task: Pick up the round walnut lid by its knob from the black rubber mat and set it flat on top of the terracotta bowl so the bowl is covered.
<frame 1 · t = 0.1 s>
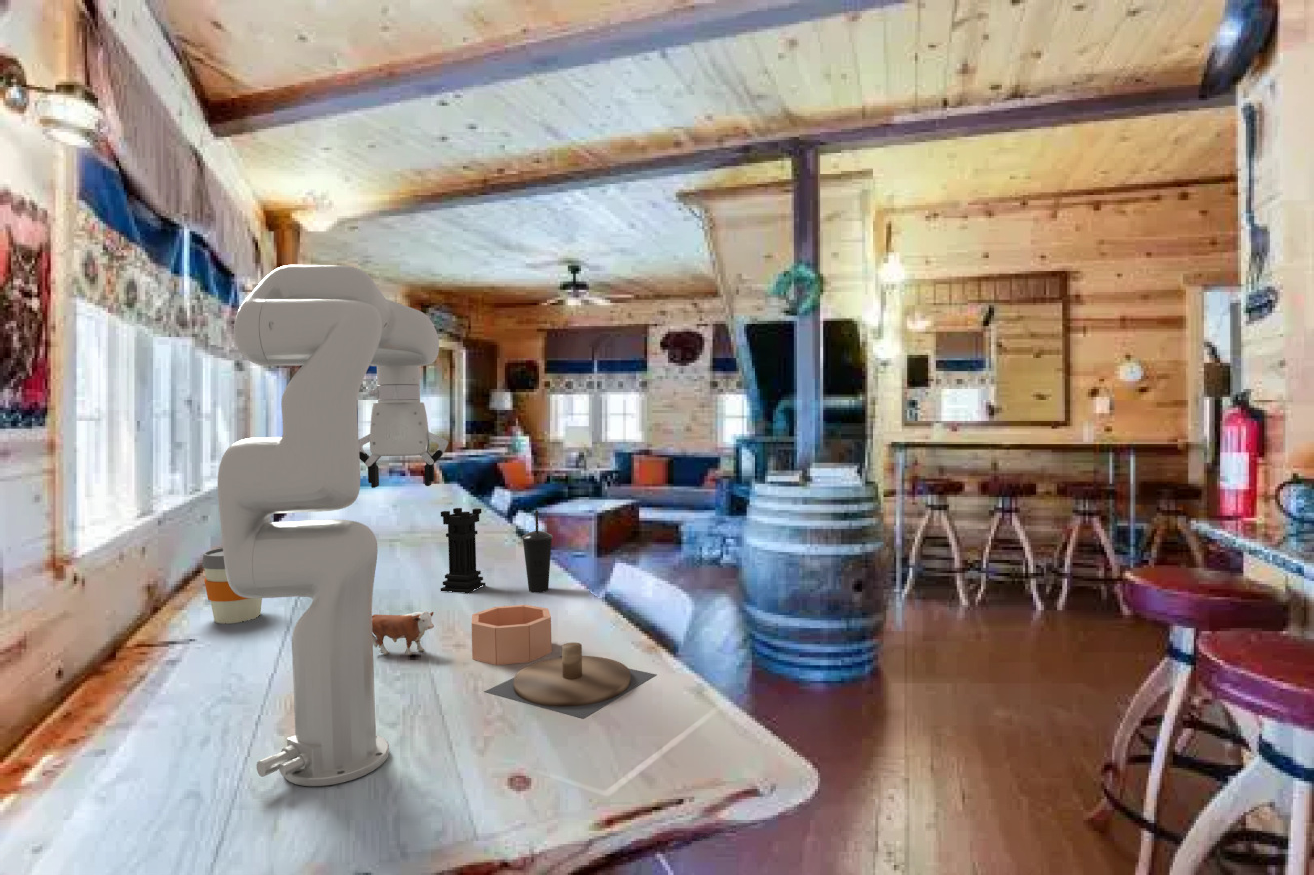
hand: (401, 486, 139), 31 cm above the table, tool pointing down, fingers open, 9 cm apart
mat: (572, 685, 120), on the table
drinking cup: (538, 591, 184), on the table
bowl: (512, 652, 137), on the table
reusable coffee cup: (237, 618, 163), on the table
chess piece: (463, 589, 186), on the table
bull figurine: (403, 653, 138), on the table
lid: (572, 682, 120), resting on mat
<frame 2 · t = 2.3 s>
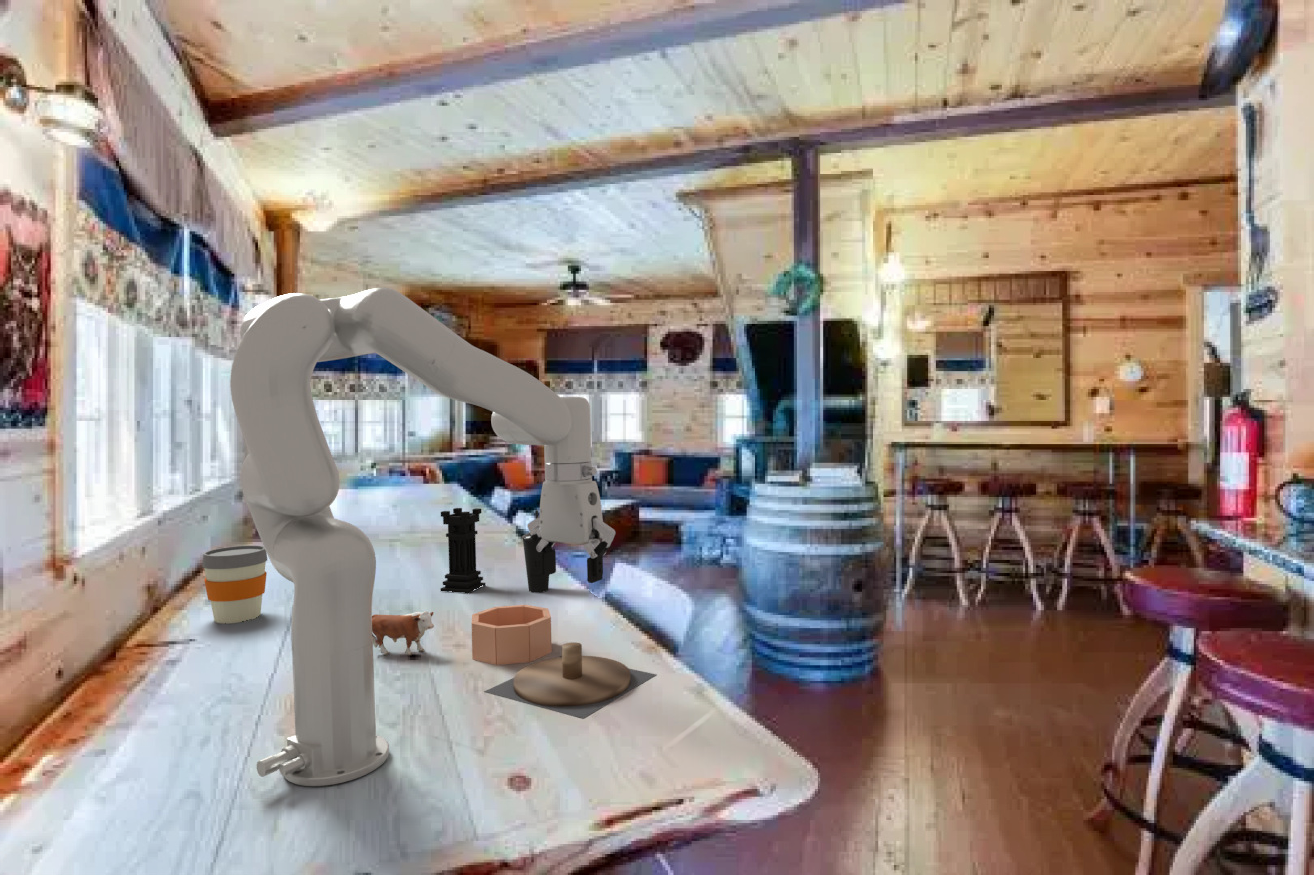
hand: (571, 577, 120), 18 cm above the table, tool pointing down, fingers open, 9 cm apart
nothing on the table moved.
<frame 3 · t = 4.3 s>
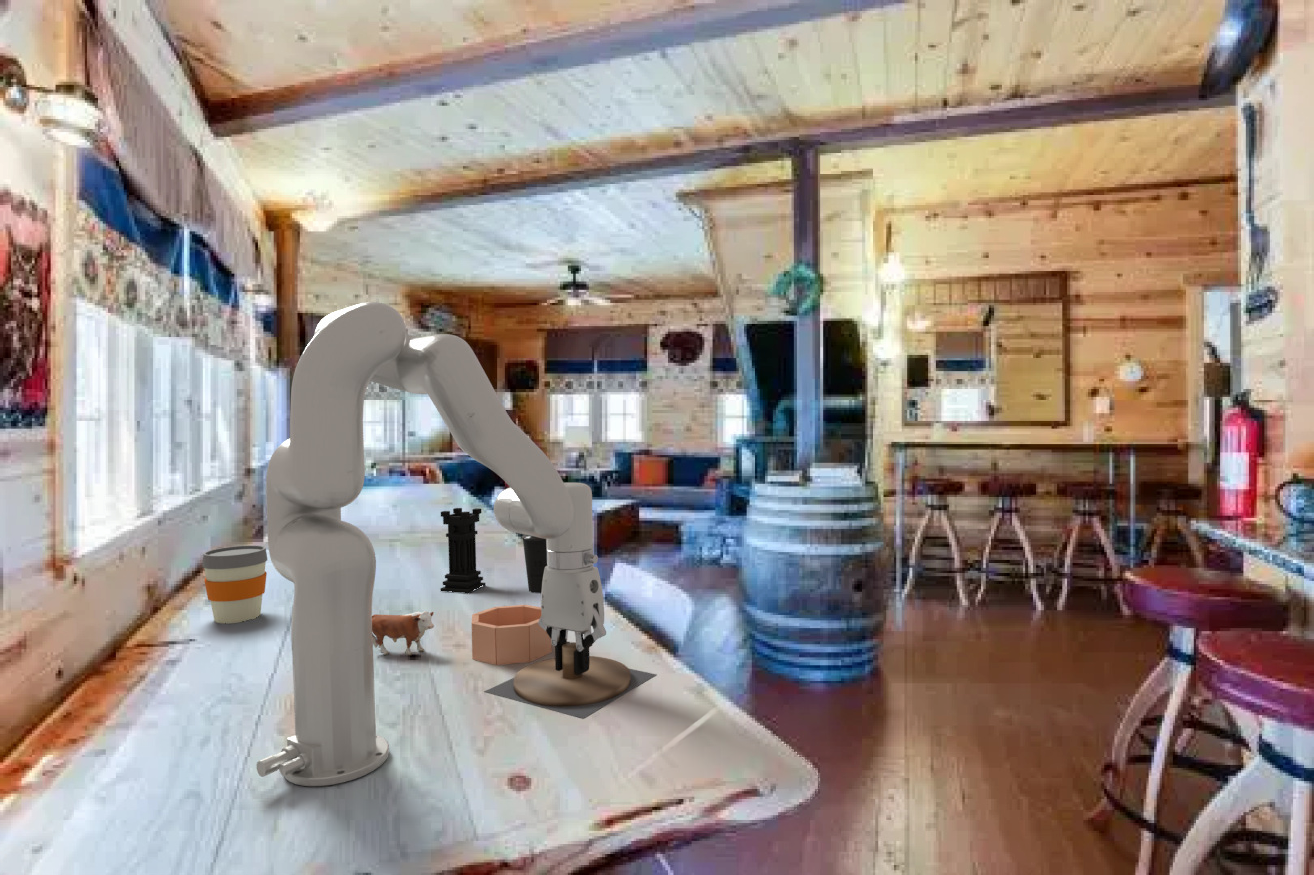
hand: (572, 669, 120), 3 cm above the table, tool pointing down, fingers closed on lid, 3 cm apart
lid: (572, 682, 120), resting on mat, touching gripper
everything else where it was.
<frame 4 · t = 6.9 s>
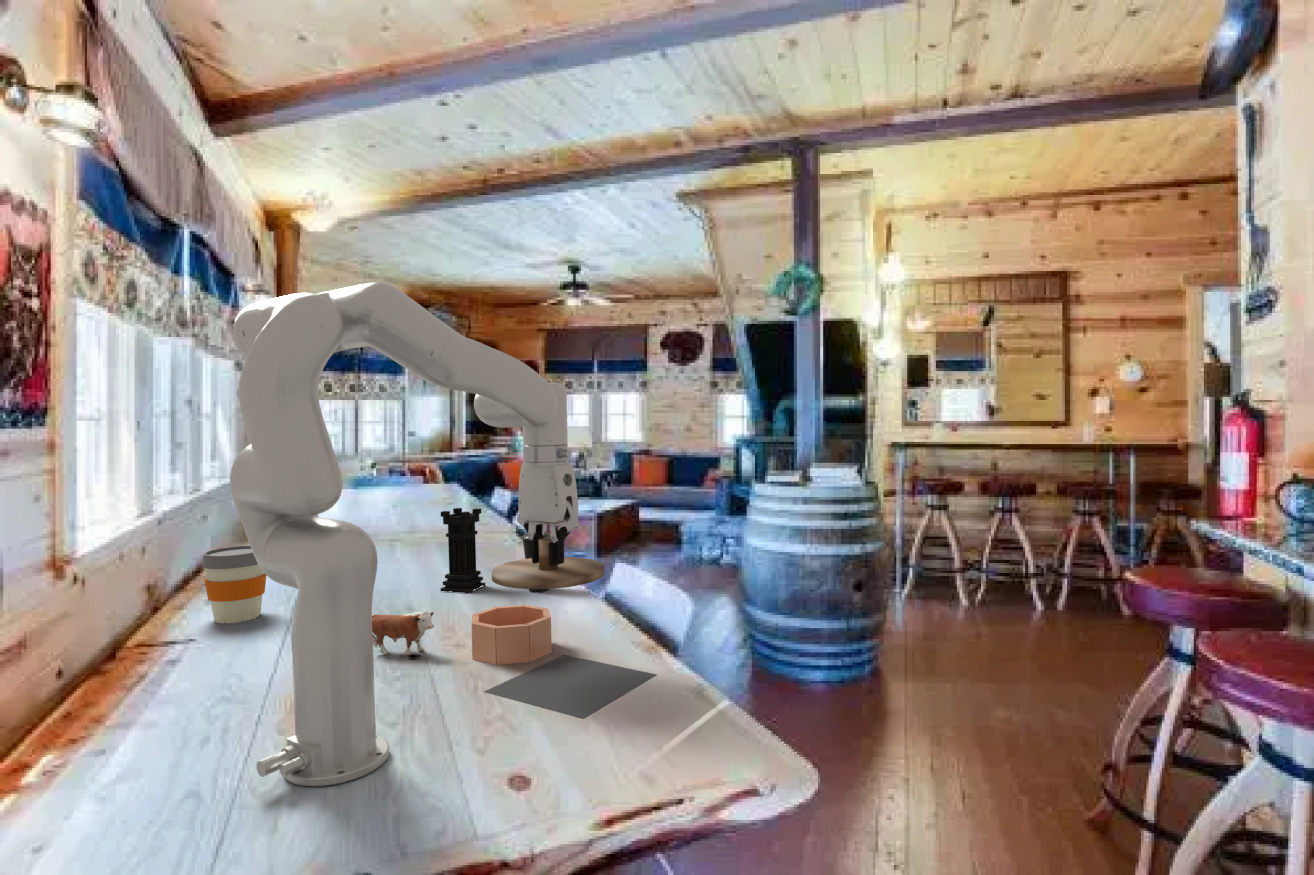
hand: (548, 562, 125), 19 cm above the table, tool pointing down, fingers closed on lid, 3 cm apart
lid: (548, 575, 125), point 17 cm above the table, touching gripper
everything else where it was.
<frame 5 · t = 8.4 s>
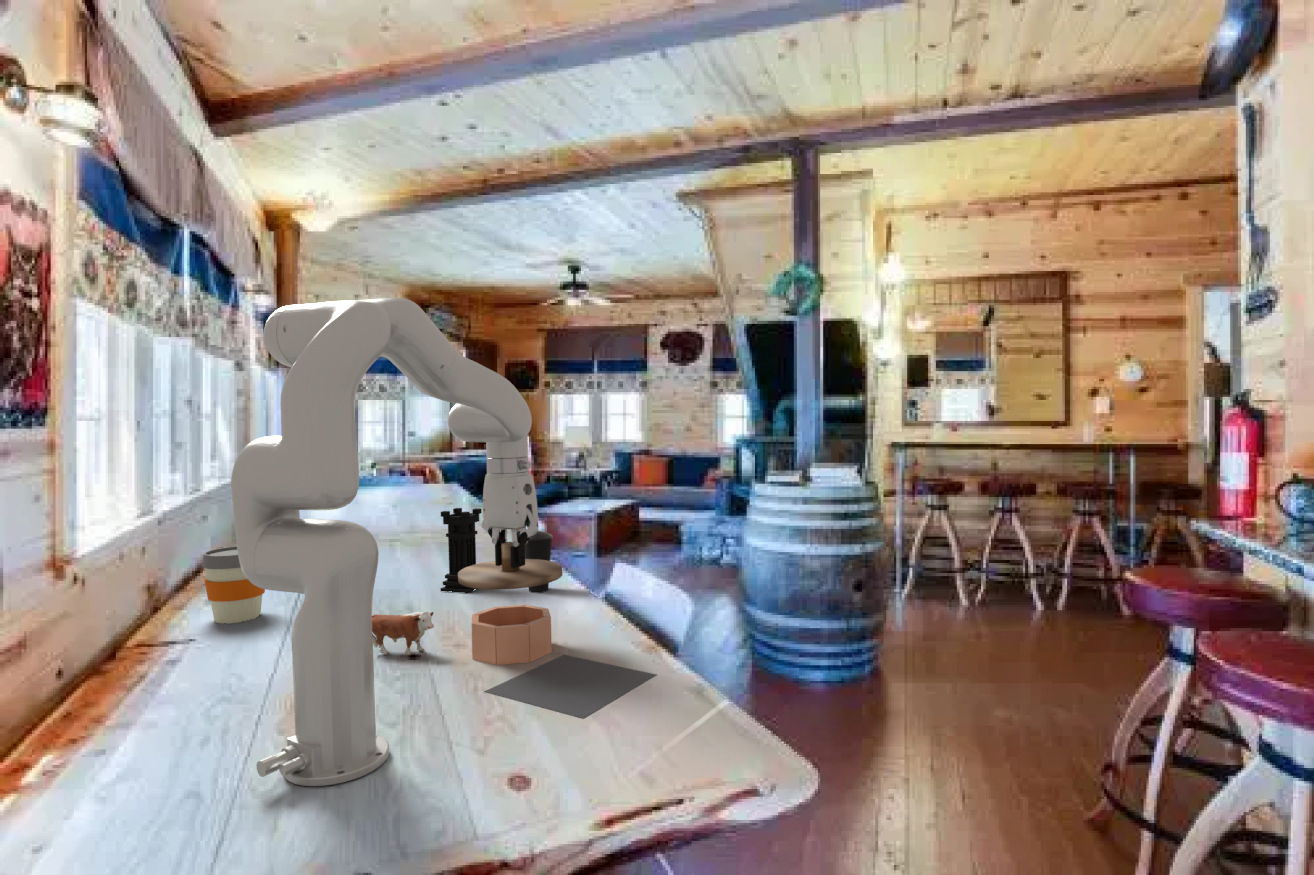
hand: (510, 564, 136), 17 cm above the table, tool pointing down, fingers closed on lid, 3 cm apart
lid: (510, 576, 137), point 14 cm above the table, touching gripper
everything else where it was.
when the fingers open (10 cm above the table, at t = 9.6 s): lid drops 1 cm, resting on bowl.
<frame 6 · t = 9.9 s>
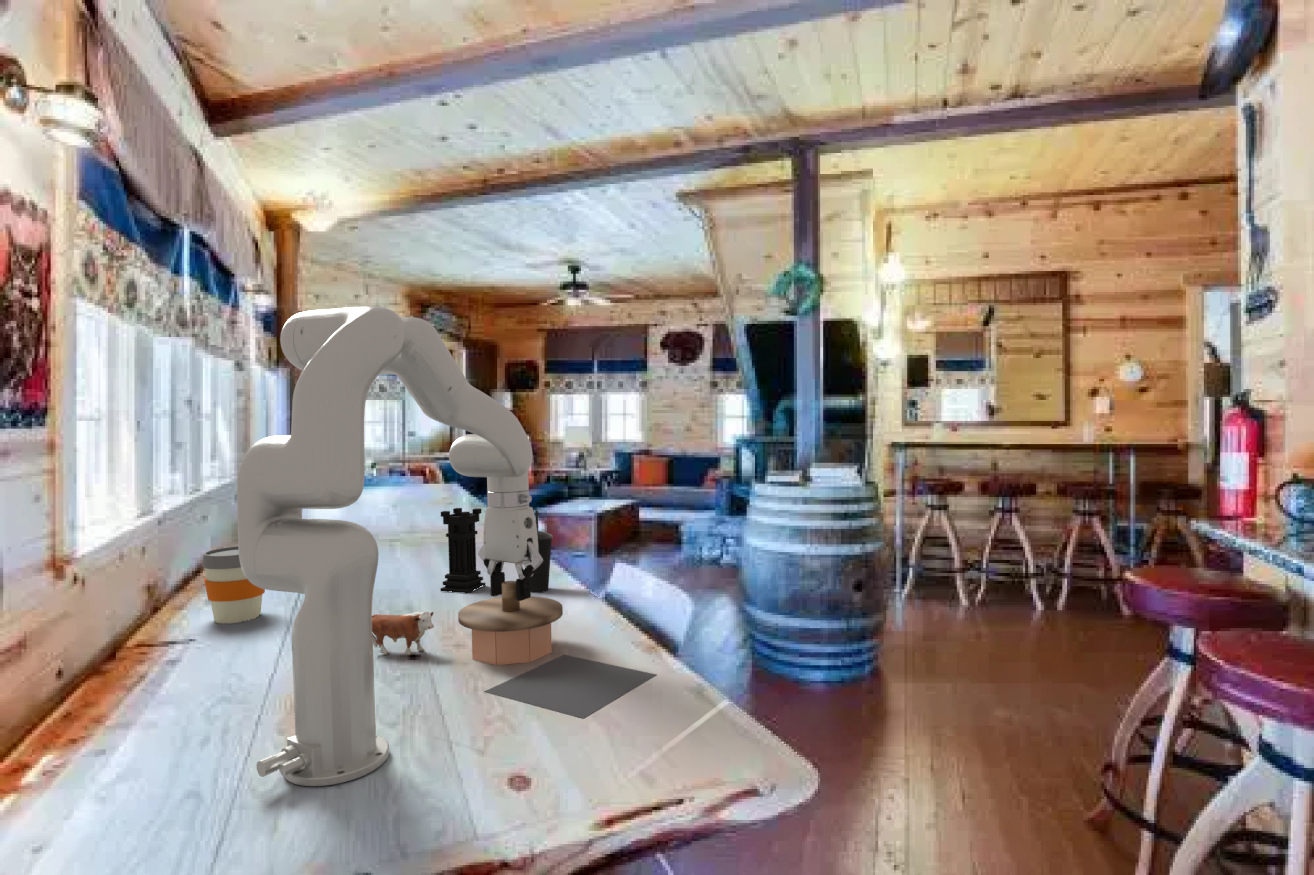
hand: (510, 596, 137), 11 cm above the table, tool pointing down, fingers open, 5 cm apart
lid: (511, 615, 137), point 7 cm above the table, touching bowl
everything else where it was.
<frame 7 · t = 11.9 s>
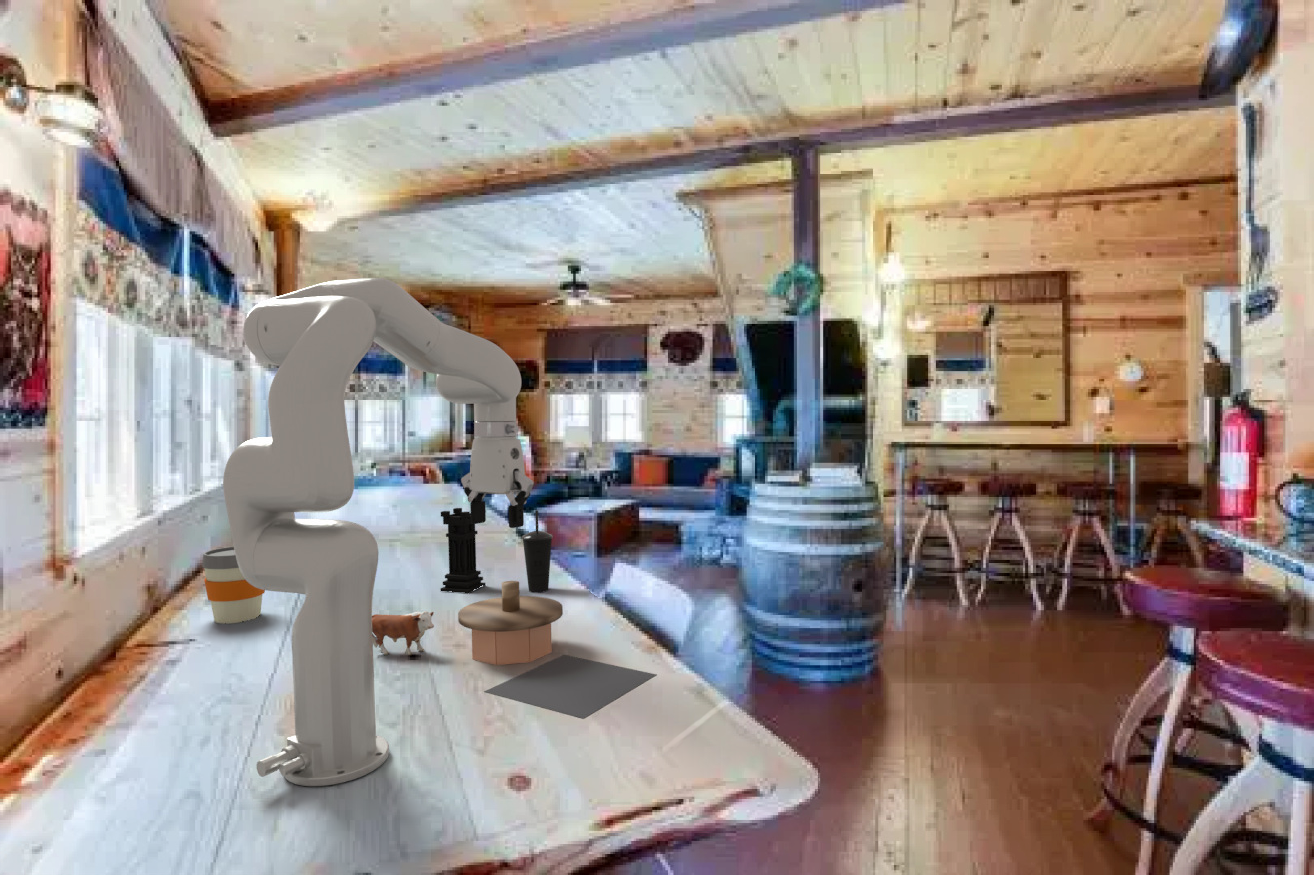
hand: (496, 525, 135), 24 cm above the table, tool pointing down, fingers open, 9 cm apart
nothing on the table moved.
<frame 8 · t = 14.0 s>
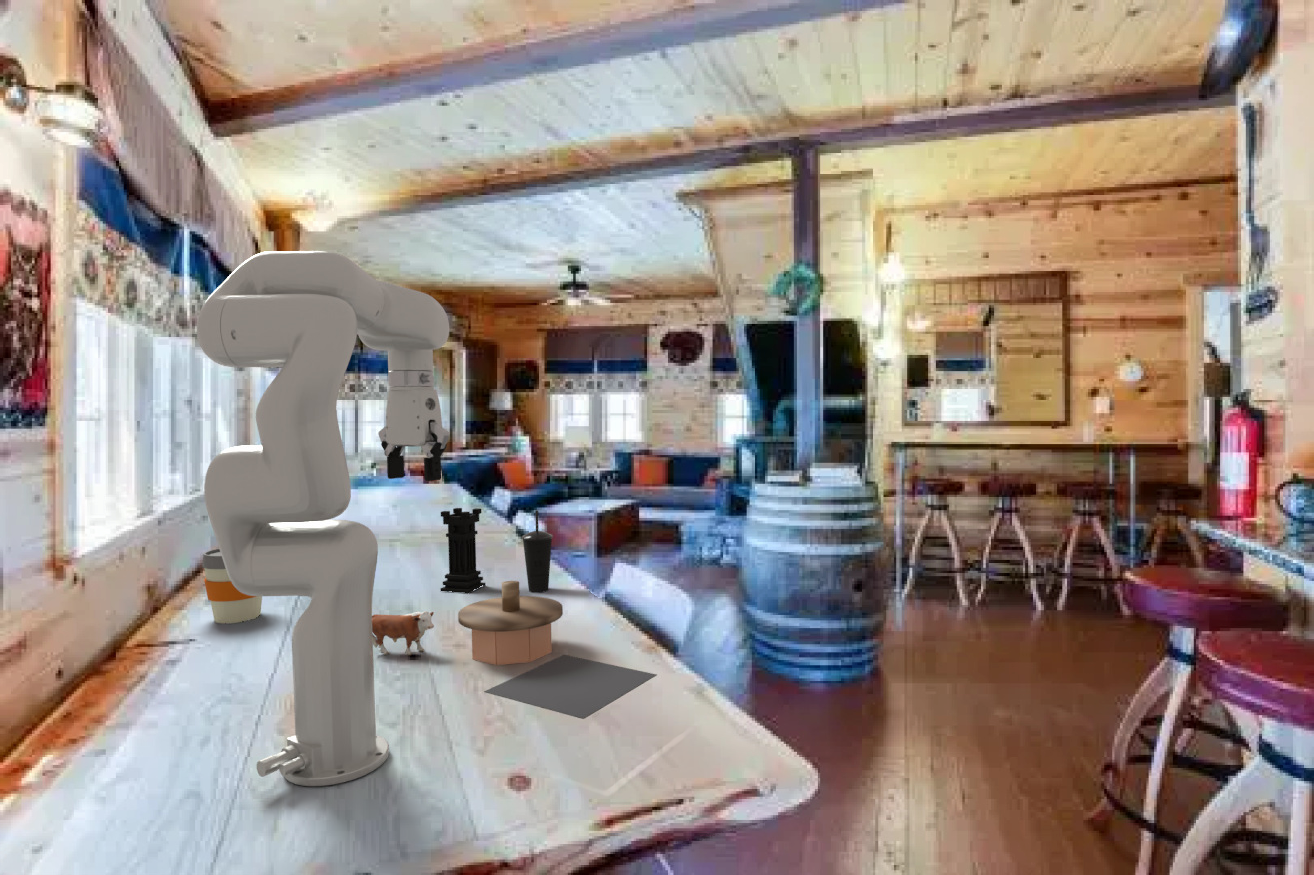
hand: (414, 479, 130), 33 cm above the table, tool pointing down, fingers open, 9 cm apart
nothing on the table moved.
at the end: lid 0.0 cm off-centre on the bowl, point 7.0 cm above the bowl's base; lid tilted 0°; the gripper is holding nothing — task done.
